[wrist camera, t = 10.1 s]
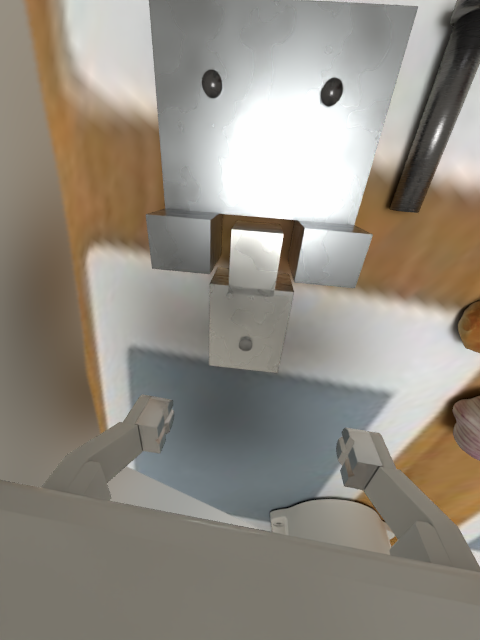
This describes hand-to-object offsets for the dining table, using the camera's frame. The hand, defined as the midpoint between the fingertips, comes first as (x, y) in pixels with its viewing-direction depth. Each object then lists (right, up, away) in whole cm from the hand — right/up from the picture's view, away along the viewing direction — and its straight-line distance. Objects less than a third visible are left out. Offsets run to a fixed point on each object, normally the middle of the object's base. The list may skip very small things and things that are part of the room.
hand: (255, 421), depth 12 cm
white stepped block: (0, +7, +8) cm, 11 cm away
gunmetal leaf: (+1, +15, +4) cm, 15 cm away
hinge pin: (+10, +15, +2) cm, 19 cm away
